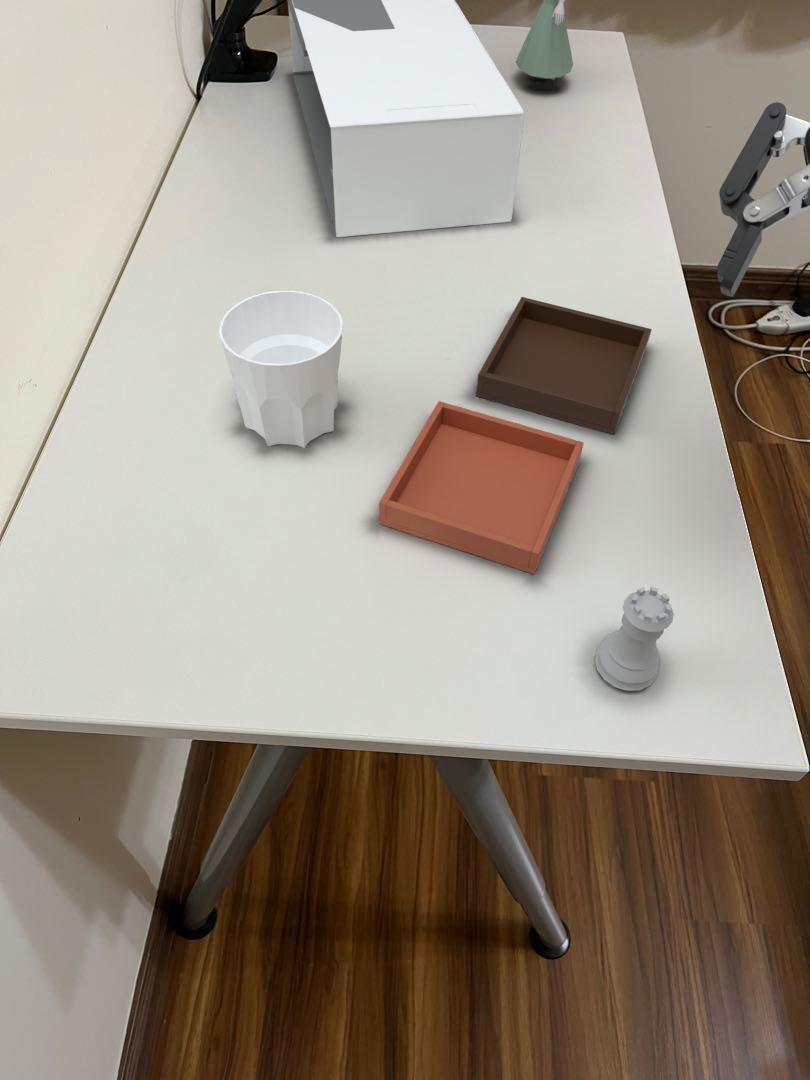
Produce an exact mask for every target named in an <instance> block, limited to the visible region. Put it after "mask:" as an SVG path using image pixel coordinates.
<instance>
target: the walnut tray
mask: <svg viewBox="0 0 810 1080" xmlns="http://www.w3.org/2000/svg"><path fill="white" fill-rule="evenodd" d="M651 334H652V328H649V327H646V326H645V327H644V326H641V325H638V324H637V325H636V324H633V323H628V322H624V321H620V320H616V319H614V318H613V319H612V318H609V317H605V316H601V315H596V314H593V313H589V312H584V311H580V310H576V309H573V308H570V307H569V308H568V307H564V306H561V305H556V304H553V303H549V302H544V301H540V300H537V299H533V298H528V297H524V296H521V297H520V299H519V300H518V303H517V304H516V306H515V308H514V310H513V311H512V312H511V315H510V317H509V319H508V320H507V322H506V324H505V326H504V327H503V329H502V331H501V333H500V335H499V336H498V337H497V340H496V341H495V344H494V345H493V347H492V349H491V350H490V352H489V354H488V356H487V358H486V360H485V361H484V363H483V365H482V367H481V369H480V370H479V372H478V373H477V382H476V390H475V391H476V392H475V396H476V397H477V398H478V397H479V398H481V399H486V400H489V401H491V402H495V403H498V404H499V403H500V404H503V405H507V406H510V407H514V408H517V409H521V410H523V411H528V412H531V413H535V414H538V415H543V416H546V417H549V418H553V419H557V420H560V421H564V422H568V423H571V424H574V425H577V426H581V427H584V428H588V429H592V430H595V431H599V432H602V433H606V434H609V435H613V436H615V434H616V431H617V429H618V426H619V424H620V421H621V418H622V415H623V413H624V410H625V407H626V404H627V401H628V399H629V397H630V394H631V391H632V389H633V386H634V383H635V381H636V377H637V375H638V372H639V369H640V367H641V364H642V361H643V359H644V356H645V353H646V351H647V347H648V344H649V341H650V338H651V337H650V336H651Z"/></svg>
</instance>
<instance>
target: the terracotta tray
mask: <svg viewBox="0 0 810 1080" xmlns="http://www.w3.org/2000/svg"><path fill="white" fill-rule="evenodd" d="M584 445H585V443H584V442H583V441H580V440H577V439H573V438H569V437H567V436H564V435H563V436H562V435H560V434H556V433H552V432H549V431H545V430H542V429H538V428H534V427H531V426H528V425H524V424H521V423H517V422H514V421H510V420H507V419H504V418H500V417H497V416H493V415H489V414H486V413H483V412H478V411H475V410H472V409H468V408H465V407H461V406H458V405H455V404H452V403H447V402H444V401H441V400H438V401H437V403H436V405H435V406H434V408H433V410H432V412H431V413H430V415H429V417H428V419H427V420H426V422H425V423H424V425H423V427H422V429H421V430H420V431H419V434H418V435H417V436H416V439H415V441H414V443H413V444H412V446H411V448H410V450H409V451H408V453H407V454H406V456H405V458H403V459H404V460H403V461H402V463H401V465H400V466H399V468H398V469H397V471H396V473H395V475H394V476H393V478H392V480H391V481H390V483H389V485H388V486H387V488H386V490H385V491H384V493H383V495H382V497H381V499H380V500H379V502H378V517H379V518H378V519H379V521H378V523H379V525H382V526H386V527H389V528H390V529H391V528H392V529H395V530H397V531H400V532H404V533H406V534H409V535H413V536H416V537H418V538H421V539H425V540H428V541H431V542H435V543H437V544H439V545H443V546H447V547H448V548H449V547H450V548H452V549H455V550H458V551H462V552H464V553H468V554H470V555H473V556H476V557H480V558H483V559H486V560H489V561H491V562H494V563H498V564H501V565H505V566H507V567H510V568H513V569H516V570H520V571H523V572H525V573H529V574H532V575H536V573H537V570H538V567H539V564H540V562H541V560H542V558H543V554H544V552H545V549H546V547H547V545H548V542H549V540H550V537H551V534H552V532H553V529H554V527H555V524H556V521H557V520H558V517H559V514H560V512H561V509H562V507H563V504H564V501H565V498H566V497H567V494H568V492H569V489H570V487H571V484H572V481H573V479H574V477H575V474H576V472H577V469H578V468H579V467H578V466H579V464H580V460H581V456H582V453H583V448H584Z"/></svg>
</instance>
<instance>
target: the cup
mask: <svg viewBox="0 0 810 1080" xmlns="http://www.w3.org/2000/svg"><path fill="white" fill-rule="evenodd" d="M343 329H344V322H343V319H342V316H341V313H340V312H339V311H338V310H337V308H336V307H335V306H334V305H333V304H332V303H330V302H329V301H328V300H326V299H324V298H322V297H320V296H317V295H316V294H313V293H309V292H304V291H299V290H281V289H280V290H273V291H266V292H262V293H257V294H254V295H251V296H249V297H247V298H245V299H242V300H240V301H239V302H237V303H236V304H235V305H233V306H232V307H230V308H229V309H228V311H226V313H225V314H224V316H223V317H222V318H221V321H220V324H219V327H218V332H219V339H220V342H221V345H222V349H223V353H224V355H225V360H226V362H227V366H228V369H229V372H230V376H231V379H232V383H233V386H234V390H235V393H236V398H237V401H238V405H239V408H240V411H241V416H242V420H243V423H244V426H245V428H246V429H250V430H252V431H255V432H256V433H257V434H258V435H259V436H260V437H262V438H263V439H264V440H265V443H266V446H267V447H271V446H276V445H294V446H297V447H301V448H303V449H306V447H307V445H308V444H309V443H310V442H311V441H313V440H314V439H317V438H318V437H320V436H321V435H323V434H326V433H331V432H334V430H335V429H334V425H335V424H334V423H335V410H336V409H337V407H338V385H339V367H340V360H341V351H342V340H343Z"/></svg>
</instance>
